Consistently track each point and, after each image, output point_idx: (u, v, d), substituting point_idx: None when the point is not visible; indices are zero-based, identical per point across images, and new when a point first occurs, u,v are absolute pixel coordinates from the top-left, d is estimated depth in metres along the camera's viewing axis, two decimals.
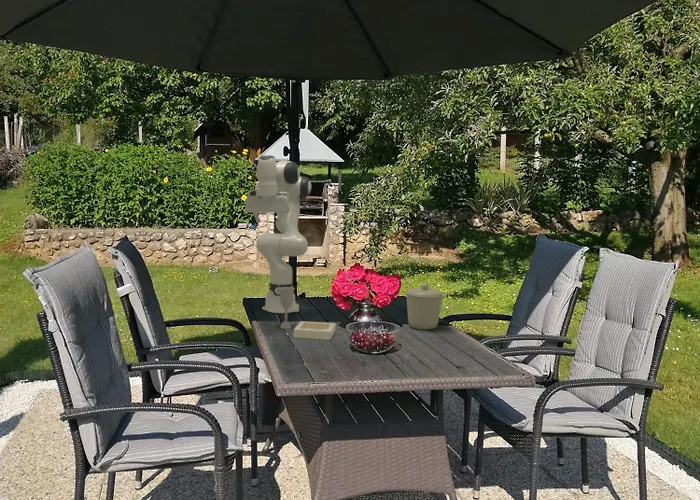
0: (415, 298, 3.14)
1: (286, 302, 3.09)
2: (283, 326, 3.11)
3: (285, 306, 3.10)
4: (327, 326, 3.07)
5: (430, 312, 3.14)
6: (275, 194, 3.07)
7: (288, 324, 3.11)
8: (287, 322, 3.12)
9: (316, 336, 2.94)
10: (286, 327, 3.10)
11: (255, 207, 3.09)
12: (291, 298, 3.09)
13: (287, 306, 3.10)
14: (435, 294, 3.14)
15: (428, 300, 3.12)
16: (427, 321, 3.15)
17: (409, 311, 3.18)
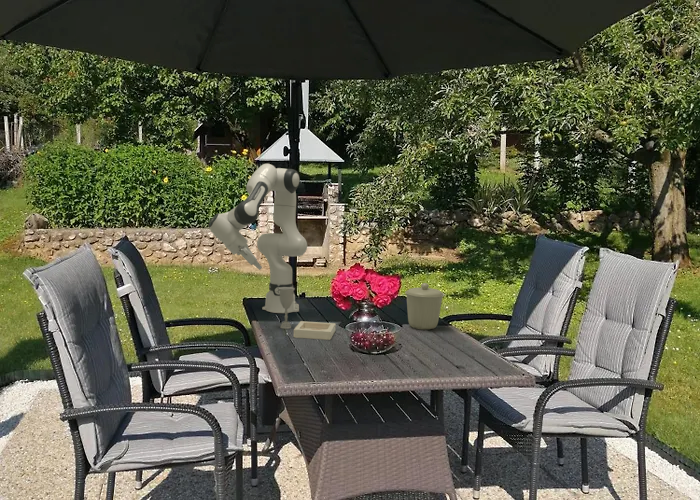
0: (415, 298, 3.14)
1: (286, 302, 3.09)
2: (283, 326, 3.11)
3: (285, 306, 3.10)
4: (327, 326, 3.07)
5: (430, 312, 3.14)
6: (237, 250, 2.99)
7: (288, 324, 3.11)
8: (287, 322, 3.12)
9: (316, 336, 2.94)
10: (286, 327, 3.10)
11: None
12: (291, 298, 3.09)
13: (287, 306, 3.10)
14: (435, 294, 3.14)
15: (428, 300, 3.12)
16: (427, 321, 3.15)
17: (409, 311, 3.18)
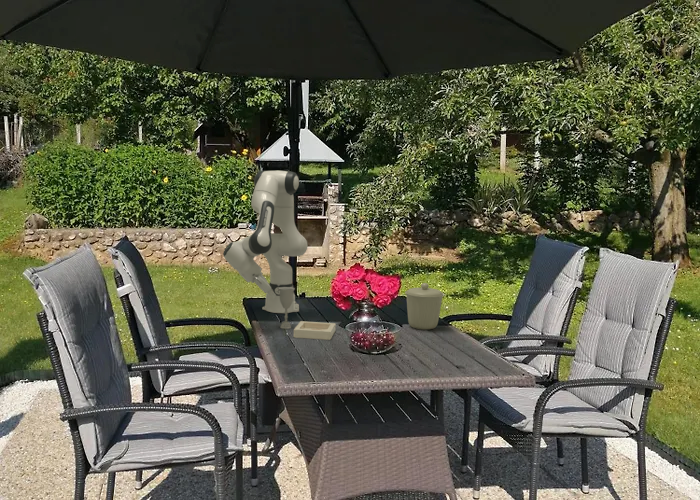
0: (415, 298, 3.14)
1: (286, 302, 3.09)
2: (283, 326, 3.11)
3: (285, 306, 3.10)
4: (327, 326, 3.07)
5: (430, 312, 3.14)
6: (252, 278, 3.02)
7: (288, 324, 3.11)
8: (287, 322, 3.12)
9: (316, 336, 2.94)
10: (286, 327, 3.10)
11: None
12: (291, 298, 3.09)
13: (287, 306, 3.10)
14: (435, 294, 3.14)
15: (427, 299, 3.12)
16: (427, 321, 3.15)
17: (409, 311, 3.18)
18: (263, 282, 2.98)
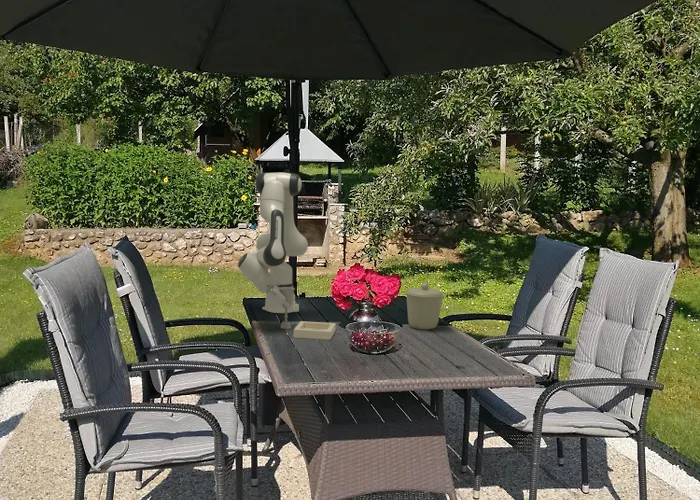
0: (415, 298, 3.14)
1: None
2: (283, 326, 3.11)
3: (285, 306, 3.10)
4: (327, 326, 3.07)
5: (430, 312, 3.14)
6: (266, 289, 3.04)
7: (288, 324, 3.11)
8: (287, 322, 3.12)
9: (316, 336, 2.94)
10: (286, 327, 3.10)
11: None
12: (291, 298, 3.09)
13: None
14: (435, 294, 3.14)
15: (428, 299, 3.12)
16: (427, 321, 3.15)
17: (409, 311, 3.18)
18: (278, 293, 3.00)
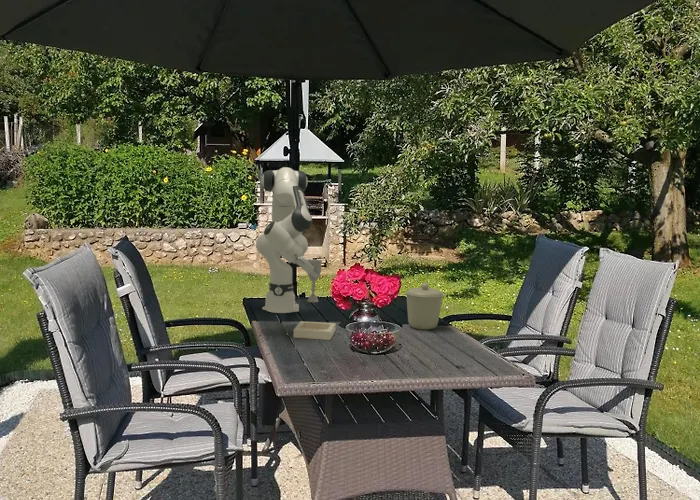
0: (415, 298, 3.14)
1: None
2: (310, 300, 2.99)
3: (312, 279, 2.98)
4: (327, 326, 3.07)
5: (430, 312, 3.14)
6: (294, 258, 2.92)
7: (315, 298, 2.99)
8: (314, 295, 3.00)
9: (316, 336, 2.94)
10: (313, 301, 2.98)
11: (299, 265, 3.03)
12: (319, 270, 2.97)
13: (315, 279, 2.98)
14: (435, 294, 3.14)
15: (428, 300, 3.12)
16: (427, 321, 3.15)
17: (409, 311, 3.18)
18: (306, 262, 2.88)
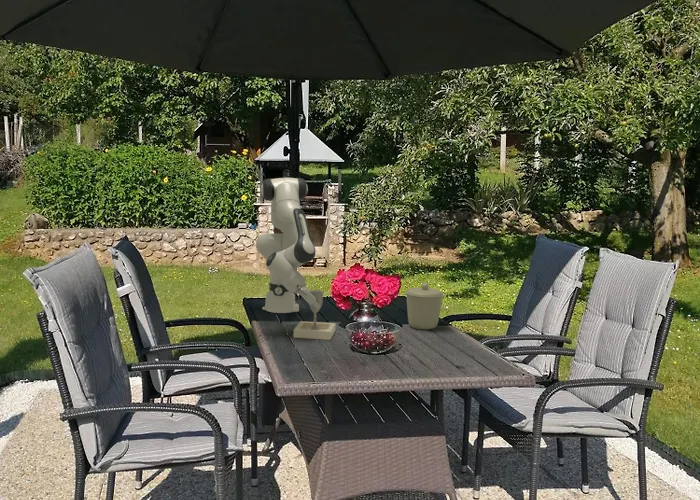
0: (415, 298, 3.14)
1: None
2: None
3: (314, 310, 2.99)
4: (327, 326, 3.07)
5: (430, 312, 3.14)
6: (296, 289, 2.93)
7: (317, 328, 3.01)
8: (316, 326, 3.01)
9: (316, 336, 2.94)
10: None
11: None
12: (320, 301, 2.99)
13: (316, 310, 2.99)
14: (435, 294, 3.14)
15: (428, 300, 3.12)
16: (427, 321, 3.15)
17: (409, 311, 3.18)
18: (308, 293, 2.89)
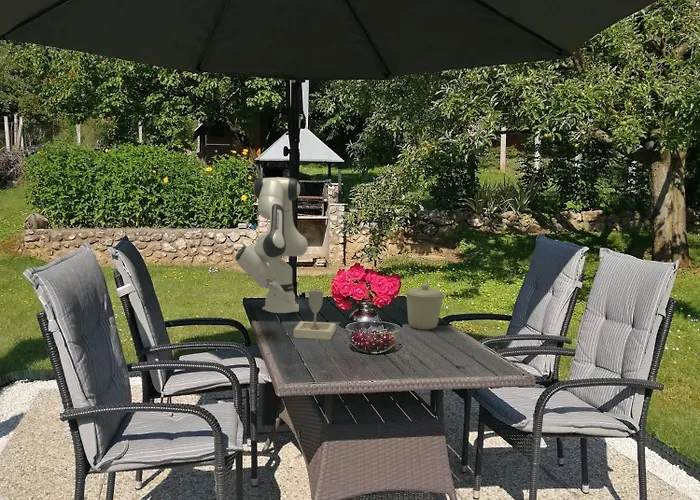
0: (415, 298, 3.14)
1: (315, 306, 2.98)
2: None
3: (314, 310, 2.99)
4: (327, 326, 3.07)
5: (430, 312, 3.14)
6: (265, 283, 2.90)
7: (317, 328, 3.01)
8: (316, 326, 3.01)
9: (316, 336, 2.94)
10: None
11: None
12: (320, 301, 2.99)
13: (316, 310, 2.99)
14: (435, 294, 3.14)
15: (428, 300, 3.12)
16: (427, 321, 3.15)
17: (409, 311, 3.18)
18: (277, 288, 2.86)
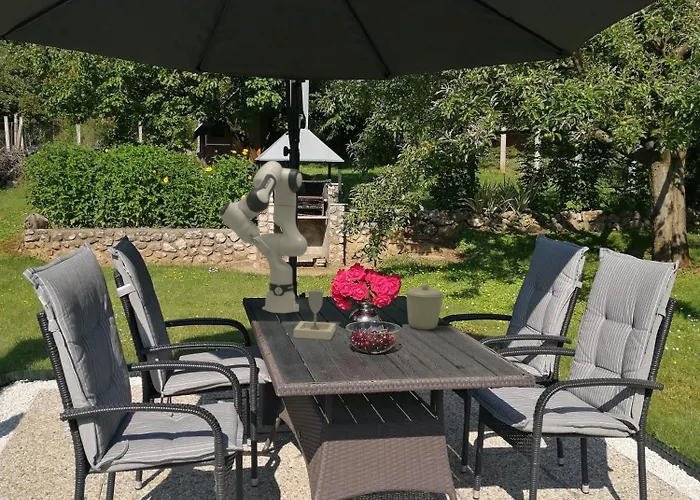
0: (415, 298, 3.14)
1: (315, 306, 2.98)
2: None
3: (314, 310, 2.99)
4: (327, 326, 3.07)
5: (430, 312, 3.14)
6: (249, 239, 2.94)
7: (317, 328, 3.01)
8: (316, 326, 3.01)
9: (316, 336, 2.94)
10: None
11: None
12: (320, 301, 2.99)
13: (316, 310, 2.99)
14: (435, 294, 3.14)
15: (428, 299, 3.12)
16: (427, 321, 3.15)
17: (409, 311, 3.19)
18: (261, 242, 2.90)
